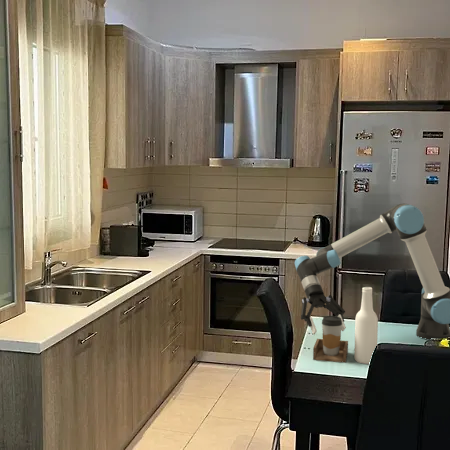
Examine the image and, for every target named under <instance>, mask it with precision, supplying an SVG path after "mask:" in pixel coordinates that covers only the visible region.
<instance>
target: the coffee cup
mask: <svg viewBox="0 0 450 450" xmlns="http://www.w3.org/2000/svg"><path fill="white" fill-rule="evenodd" d="M341 326H342V321H341V318H340V317H337V316H336V315H326V316H322V320H321V327H322V330H321V331H322V333H321V334H322V339H323V352H324V354H325V355H329V356H336V355H338V353H339V348H340V340H342V339H341V336H342V330H341Z"/></svg>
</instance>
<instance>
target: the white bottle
mask: <svg viewBox="0 0 450 450" xmlns="http://www.w3.org/2000/svg"><path fill="white" fill-rule="evenodd" d="M361 289H362V290H361V292H362V293H361V303H360V309H359V310H358V312H357V313H356V315H355V318H354V319H355V320H354V321H355V322H354V323H355V324H354V327H355V328H354V356H353V357H354V361H356V362H357V363H359V364H363V365H370V364H369V362H370V359H371V356H372V353H373V351H374V349H375V347H376V345H377V346H378V334H379V333H378V330H379V329H378V328H379V324H378V323H379V319H378V315H377V313H376V312H375V311H374V304H373V303H374V302H373V288H372V287H371V286H365V287H362V288H361Z"/></svg>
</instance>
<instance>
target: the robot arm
mask: <svg viewBox="0 0 450 450" xmlns="http://www.w3.org/2000/svg"><path fill="white" fill-rule="evenodd" d="M427 231H428V230H427V227H426V225H425V218H424V213H423V212H422V210H421V209H419V208H418V207H417V206H415V205H413V204H412V205H411V204H409V203H399V204H397V205H395V206H393V207H392V208H390V209H388V210H386V211H385V212H383V213H381V214H380V215H379V217H378V218H377V219H375V220H373V221H371V222H370V223H368V224H365V225H364V226H361V228H359V229H357V230H355V231H353V232H351V233H350V234H347V235H345V236H344V237H341V238H340V239H338V240H336V241H334V242H333V243H331V244H328V245H327V246H325V247H321V248H318V250H317V252H316V255H315V256H314V257H312V258H311V257H309V255H301V256H299V257H297V258H296V259H294V267H295V270H296V273H297V276H298V277H299V280H300V282H301V285H302V288H303V291H304V293H305V295H306V297H303V298H302V299H301V305H302V306H301V312H300V313H301V314H300V319H301V320H303V321H304V322H305V323H306V324H307V327H309V328H310V331H311V332H312V335H316V333H317V327H316V325H315V323H314V319H313V317H311V315H312V313H313V311H314V308H316V309H318V308H321V309H322V308H324V309H326V310H327V311H329V312H331V313H332V314H334V316H337V317H340V318H341V321H342V326H341V332H344V331H345V330H346V327H347V326H346V325H345V319H344V317H343V316H344V314H346V311H345V309H344V308H343V307H342V306H341V305H340V304H339V303H338V302H337V301H336V300H335V299H334V298H333V296H332V294H329V295H328V296H325V293H324V290H323V288H322V285H321V282H320V279H319V277H318V275H319V274H321V273H324V272H326V271H329V270H331V269H334V268H337V267H338V266H340V265H341V264H342V262H341V258H343V257H344V256H346V255H348V254H349V253H352V252H354V251H356V250H358V249H360V248H361V247H363V246H366V245H367V244H369V243H371V242H373V241H374V240H377V239H378V238H380V237H382V236H384V235H386V234H388V233H389V234H392V233H394V232H397V234H398V237H399V239H400V240H401V241H403V242H405V245H406V247H407V249H408V252H409V254H410V257H411V260H412V262H413V264H414V265H413V266H414V267H415V270H416V272H417V273H416V274H417V275H418V277H419V280H420V283H421V285H422V289H421V293H420V294H421V303H420V320H419V323H418V325H417V327H416V334H415V335H416V336H417V337H418V336H419V337H418V338H420V337H422V338H421V339H423V338H426V339H425V340H427V339H431V338H446V337H450V325H449V324H450V287H447V286H445V283H444V281H443V278H442V276H441V272H440V271H439V268H438V266H437V262H436V260H435V258H434V255H433V252H432V250H431V247H430V245H429V242H428V240H427V237H426V233H427ZM308 303H309V304H310V307H309V309H308V310H307V306H308ZM306 313H307V314H306Z"/></svg>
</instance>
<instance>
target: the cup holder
mask: <svg viewBox="0 0 450 450" xmlns="http://www.w3.org/2000/svg"><path fill="white" fill-rule="evenodd" d="M312 350H313V352H312V353H313V354H312V360H313V361H323V362H325V361H326V362H336V363H347V357H348V353H349V340H342V339H340V348H339V353H338V355H336V356H329V355H325V354H324V352H323V338H316V340H315V342H314V345H313V349H312Z"/></svg>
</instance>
